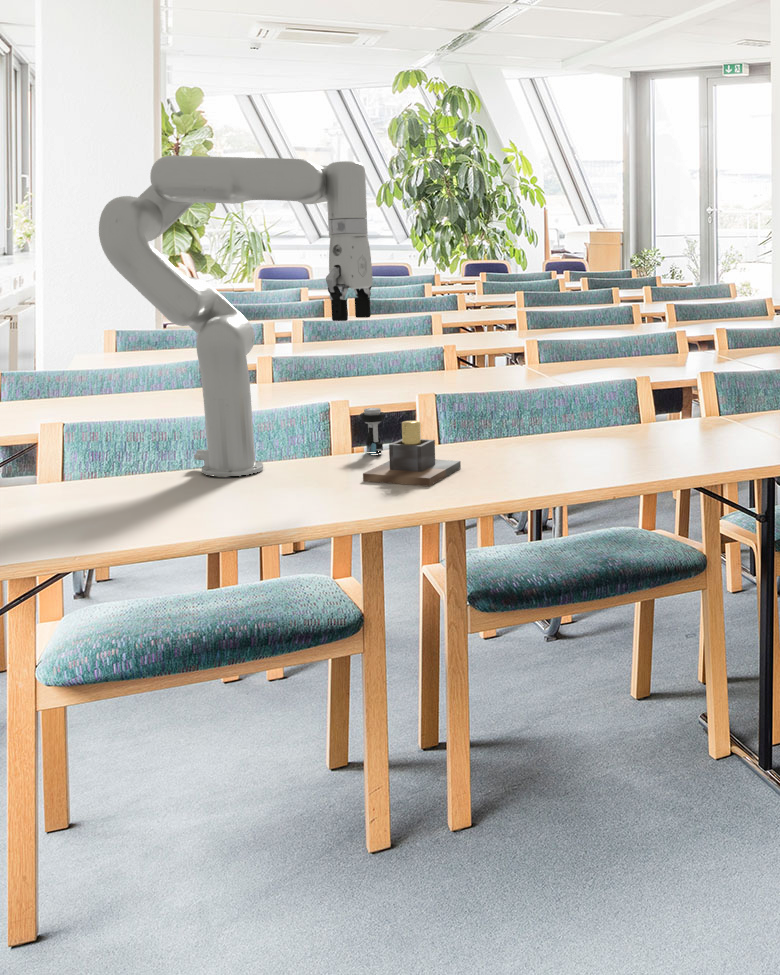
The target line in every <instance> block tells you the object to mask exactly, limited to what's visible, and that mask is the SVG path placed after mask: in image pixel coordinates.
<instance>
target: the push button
mask: <svg viewBox="0 0 780 975" xmlns="http://www.w3.org/2000/svg"><path fill="white" fill-rule="evenodd" d="M381 410H382V409H381V408H380V407H366V408H364V409H363V412H362V413H360V414H359V415H360V417H361V422H364V424H367V428H368V432H367V437H366V438H365V439H366V442H365V443H366V453H367V452H376V453H370V454H369V453H368V454H367V455H371V454H378V455H379V456H383V454H382V451H384V450H383V449H384V447H383V443H382V442H381V436H380V435H379V434H380V433H379V430H378V429H379V427H378V426H379V424H381V423H382V422H383V421H385V412H382V411H381ZM378 451H379V452H378ZM379 453H381V454H379Z"/></svg>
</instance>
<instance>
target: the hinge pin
mask: <svg viewBox="0 0 780 975" xmlns="http://www.w3.org/2000/svg"><path fill="white" fill-rule="evenodd" d="M421 434H422V433H421V421H419V420H404V421H402V422H401V436H402V438H401V439H402V444H403V445H421V436H422V435H421Z"/></svg>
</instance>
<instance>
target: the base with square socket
mask: <svg viewBox="0 0 780 975" xmlns="http://www.w3.org/2000/svg"><path fill="white" fill-rule="evenodd" d="M435 443H436V440H435V439H424V438H422V439H421V445H403V444H402V438H400V439H398V440H395V441H394V442H391V443H389V444H388V451H389V452H388V453H389V460H388V461H387V462H385V463H382V464H379V465H378V466H375V467H373V468H372V469H370V470H367V471H365V472H362V481H363V482H371V483H372V482H373V483H384V484H400V485H408V486H410V485H411V486H423V487H424V486H425V487H431V486H432V485H434V484H436V483H437V482H439V481H441V480H443V479H444V478H446V477H449V475H452V474H453V473H455V472H456V471H458V470H460V469H461V460H451V459H436V444H435Z"/></svg>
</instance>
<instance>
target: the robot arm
mask: <svg viewBox="0 0 780 975" xmlns="http://www.w3.org/2000/svg"><path fill="white" fill-rule="evenodd" d="M149 177H150V185H149V186H148V187H147V188H146V189H144V191H143V192H142V193H141V194H140V195H138V196H137V197H136V196H131V195H123V196H121V195H120V196H118V197H115V198H113V199H110V201H108V202H107V203H106V204H105V206H104V208H103V209H102V211H101V214H100V216H99V221H98V236H99V242H100V245H101V248H102V251H103V253H104V255H105V257H106V259H107V260H108V261H109V263H110V264H111V266H113V268H114V269H115V270H116V271H117V272H118V273H119V274H120V275H121V276H122V277H123V278H124V279H125V280H126V281H127V282H128V283H130V285H132V286H133V288H135V289H136V290H137V291H138V292H139V293H140V294H141V296H143V297H144V298H145V299H146V300H147V301H148V302H149V303H150V304H151V305H152V306H153V307H154V308H156V309H157V310H158V311H159V312H160V313H161V314H162V315H163V317H165V319H167V320H168V321H169V322H170V323H172V324H173V325H176V326H181V327H186V326H187V327H189V328H190V329H191V330H193V331H194V332H195V333H196V334H197V336H196V344H195V346H196V347H195V348H196V355H197V360H198V366H199V372H200V378H201V387H202V398H203V409H204V411H203V412H204V422H205V433H206V445H207V446H206V447H207V449H197V450H196V453H194V457H193V458H194V460H195V461H203V462H204V463H203V464H204V465H203V466H202V467H201V468H200V469H201V473H202V472H203V473H204V474H207V475H214V476H239V477H242V476H241V475H246V476H250V475H249V474H251V475H254V474H253V473H255V474H257V472H258V473H259V472H262V471H263V470H264V463H263V462H261V461H258V460H256V453H255V436H254V422H253V412H252V411H253V410H252V394H251V384H250V383H251V381H250V374H249V365H248V360H247V355H248V354H249V353H251V351H252V349H253V347H254V344H255V339H256V338H255V331H254V328H253V325H252V323H250V321H249V319H247V318H246V317H245V316H244V315H243V314H242V312H240V311H239V310H238V309H237V308H235V307H234V306H233V305H232V304H231V303H230V302H229V300H227V299H226V298H225V297H224V296H223V295H222V294H221V293H220V292H219V291H217V289H215V288H214V287H213V286H212V285H211V284H209V283H208V282H206V281H205V280H203V279H201V278H197V277H194V276H192V277H191V276H187V275H185V274H184V273H183V272H182V271H180V270H179V269H178V268H177V267H176V266H175V265H173V263H171V262H170V261H169V259H168V258H167V257H166V256H165V255H163V254H162V253H161V252H160V251H159V250H157V249H156V248H154V247H153V245H152V244H151V243H150V242H151V241H154V240H156V239H157V238H159V237H160V236H161V235H163V234H164V233H165V232H166V231H167V230H168V229H169V228H171V226H173V224H175V223H176V222H177V221H178V220H179V219H180V218H181V217H182V216H183V215H184V214H185V213H186V212H187V211H188V210H189V209H190V208H191V207H192V206H193V205H194V204H195V203H203V204H205V203H207V204H229V205H230V204H242V203H244V202H248V201H284V202H286V201H287V202H299V203H301V204H302V205H303V204H304V205H315V204H320V203H325V202H327V223H328V225H327V226H328V238H329V248H328V249H329V250H328V252H329V253H328V271H329V272H328V274H327V275H326V277H325V281H326V282H325V283H326V285H327V291H328V293H329V300H330V301H331V320H332V322H347V321H348V320H349V314H348V311H349V310H348V300H347V299H345V298H346V296H347V293H348V290H349V289H351V290H353V291H354V293H355V296H356V297H354V313H355V314H354V316H355V318H360V319H361V318H363V319H364V318H365V319H366V318H367V319H368V318H370V317H371V295H372V292H371V289H372V287H373V284H374V283H373V282H374V281H373V280H374V279H373V267H372V254H371V249H370V248H371V247H370V242H369V238H368V236H369V234H368V212H367V211H368V210H367V208H368V207H367V182H366V168H365V166H364V164H362V163H361V162H359V161H353V160H351V161H350V160H348V161H347V160H345V161H344V160H343V161H335V162H332V163H329V164H328V165H319V164H315V163H313V162H312V161H309V160H307V159H300V158H285V157H284V158H282V157H281V158H279V157H278V158H276V157H241V156H238V157H236V156H207V155H206V156H204V155H203V156H200V155H198V156H197V155H176V154H175V155H166V156H162V157H160V158H158V159H157V160H156V161H155V162H154V163H153V164H152V166H151V170H150V176H149ZM204 474H203V475H204Z"/></svg>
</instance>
